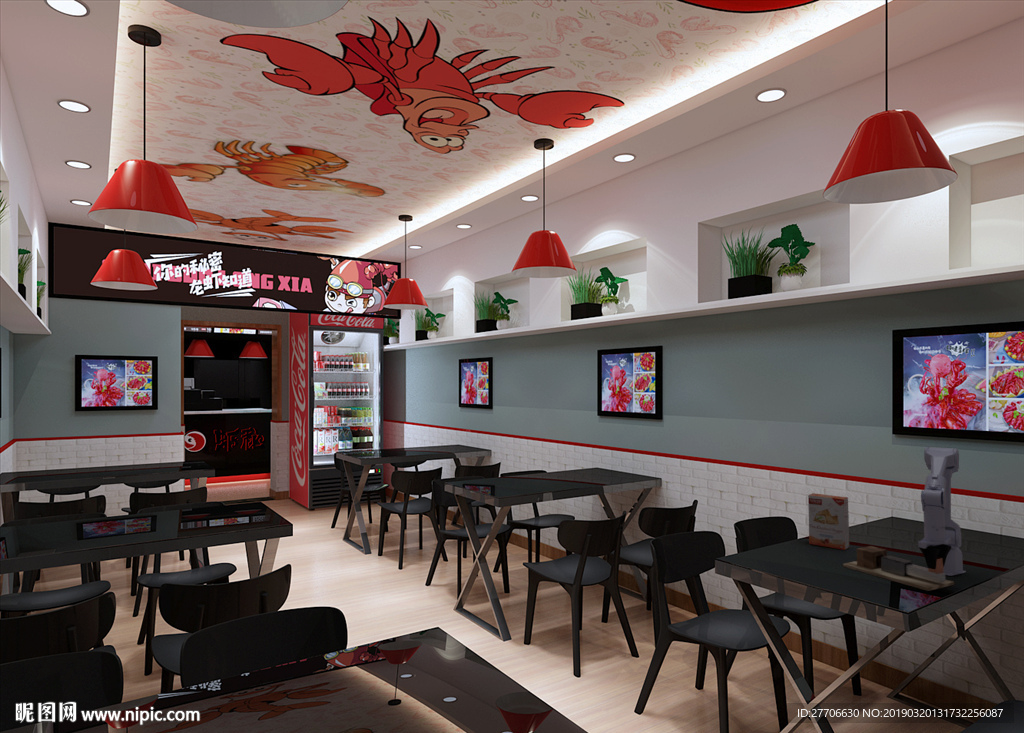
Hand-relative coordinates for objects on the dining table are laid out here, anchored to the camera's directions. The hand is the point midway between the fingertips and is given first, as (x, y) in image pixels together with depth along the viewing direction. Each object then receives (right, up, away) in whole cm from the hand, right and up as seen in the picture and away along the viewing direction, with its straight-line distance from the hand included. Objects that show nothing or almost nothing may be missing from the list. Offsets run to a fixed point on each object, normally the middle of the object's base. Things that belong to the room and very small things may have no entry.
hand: (935, 567), depth 199 cm
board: (-5, -7, +12) cm, 14 cm away
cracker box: (-8, -8, +51) cm, 52 cm away
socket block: (-9, -7, +20) cm, 23 cm away
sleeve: (-5, -7, +12) cm, 14 cm away
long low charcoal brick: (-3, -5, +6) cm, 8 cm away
